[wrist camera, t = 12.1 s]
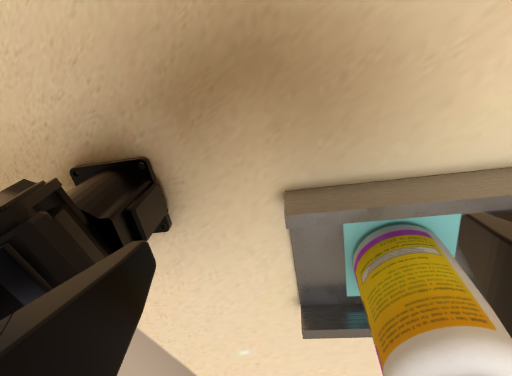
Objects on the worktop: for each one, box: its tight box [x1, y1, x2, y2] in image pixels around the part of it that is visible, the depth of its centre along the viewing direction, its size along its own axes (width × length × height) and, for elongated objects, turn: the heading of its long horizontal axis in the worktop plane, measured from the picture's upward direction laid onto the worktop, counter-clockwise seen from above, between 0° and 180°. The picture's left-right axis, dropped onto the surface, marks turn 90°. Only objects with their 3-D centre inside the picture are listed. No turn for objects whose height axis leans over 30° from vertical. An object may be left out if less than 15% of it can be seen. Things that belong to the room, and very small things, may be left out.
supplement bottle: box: [353, 224, 512, 376], centre depth 17 cm, size 7×7×13 cm
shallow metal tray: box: [285, 167, 512, 339], centre depth 22 cm, size 22×12×4 cm, turn 100°
